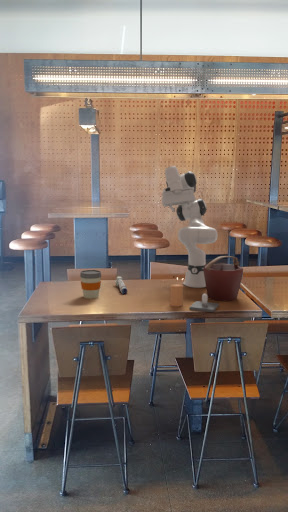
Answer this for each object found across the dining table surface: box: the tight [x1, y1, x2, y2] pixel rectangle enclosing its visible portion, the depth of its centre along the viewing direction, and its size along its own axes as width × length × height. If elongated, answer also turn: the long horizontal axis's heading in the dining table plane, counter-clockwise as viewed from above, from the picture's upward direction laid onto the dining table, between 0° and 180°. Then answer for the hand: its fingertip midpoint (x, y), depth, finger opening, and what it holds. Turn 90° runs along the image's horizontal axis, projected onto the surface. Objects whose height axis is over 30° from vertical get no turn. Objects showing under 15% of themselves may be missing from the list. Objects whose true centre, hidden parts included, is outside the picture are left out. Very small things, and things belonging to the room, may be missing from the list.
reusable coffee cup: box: [79, 269, 102, 299], centre depth 269 cm, size 13×13×15 cm
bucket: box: [204, 255, 244, 302], centre depth 266 cm, size 24×22×25 cm
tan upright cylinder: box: [169, 283, 184, 307], centre depth 252 cm, size 7×7×11 cm
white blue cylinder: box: [114, 276, 128, 295], centre depth 288 cm, size 5×7×25 cm
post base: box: [189, 293, 220, 313], centre depth 246 cm, size 13×13×8 cm
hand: (181, 210), depth 270 cm, fingers open, 8 cm apart
